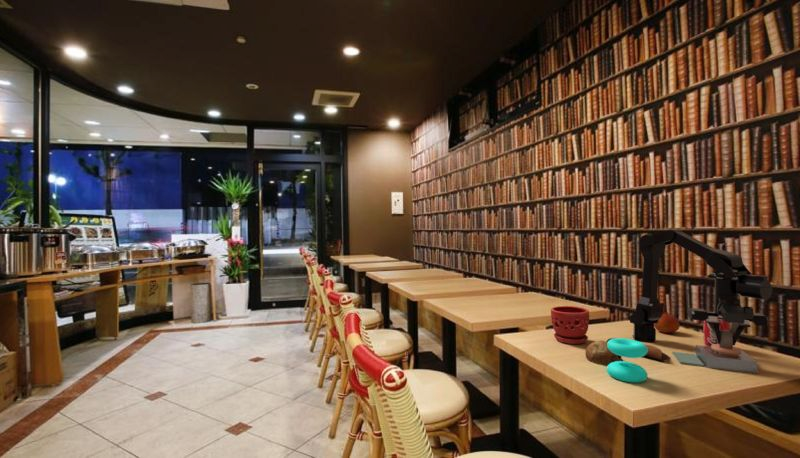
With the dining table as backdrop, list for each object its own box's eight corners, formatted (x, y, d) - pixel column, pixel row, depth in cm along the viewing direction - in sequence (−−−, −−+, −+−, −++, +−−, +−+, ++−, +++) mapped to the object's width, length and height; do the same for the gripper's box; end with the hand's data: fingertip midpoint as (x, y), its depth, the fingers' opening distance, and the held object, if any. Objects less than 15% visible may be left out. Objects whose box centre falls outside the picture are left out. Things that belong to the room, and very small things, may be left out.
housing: (706, 367, 120) (706, 355, 119) (695, 355, 130) (695, 345, 130) (757, 373, 115) (757, 361, 115) (741, 360, 126) (741, 349, 125)
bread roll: (598, 365, 131) (588, 341, 134) (629, 359, 125) (618, 334, 127) (587, 373, 124) (576, 347, 127) (619, 366, 118) (607, 340, 120)
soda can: (733, 351, 135) (734, 316, 135) (710, 349, 137) (710, 315, 137) (721, 345, 142) (721, 311, 142) (699, 343, 144) (699, 311, 144)
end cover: (715, 363, 121) (715, 333, 120) (708, 356, 127) (708, 327, 127) (744, 367, 118) (745, 335, 117) (736, 359, 124) (736, 330, 124)
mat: (680, 363, 123) (680, 361, 123) (672, 353, 133) (672, 351, 133) (703, 366, 120) (704, 364, 120) (694, 355, 130) (694, 354, 130)
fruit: (670, 336, 153) (670, 316, 153) (648, 330, 161) (648, 311, 161) (685, 334, 157) (685, 314, 156) (662, 328, 165) (662, 309, 165)
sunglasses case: (673, 357, 128) (669, 341, 126) (665, 372, 125) (661, 356, 123) (616, 343, 143) (612, 329, 141) (608, 356, 140) (603, 342, 138)
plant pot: (569, 334, 155) (570, 304, 155) (597, 344, 143) (597, 311, 143) (543, 337, 151) (543, 306, 150) (569, 347, 138) (569, 313, 138)
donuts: (651, 341, 112) (643, 349, 104) (650, 376, 112) (643, 387, 105) (612, 335, 119) (602, 342, 111) (611, 368, 119) (602, 377, 111)
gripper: (697, 295, 119) (696, 347, 119) (777, 301, 111) (777, 356, 111) (687, 290, 129) (687, 338, 129) (761, 294, 121) (760, 345, 121)
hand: (725, 344), depth 122 cm, fingers closed on end cover, 3 cm apart
